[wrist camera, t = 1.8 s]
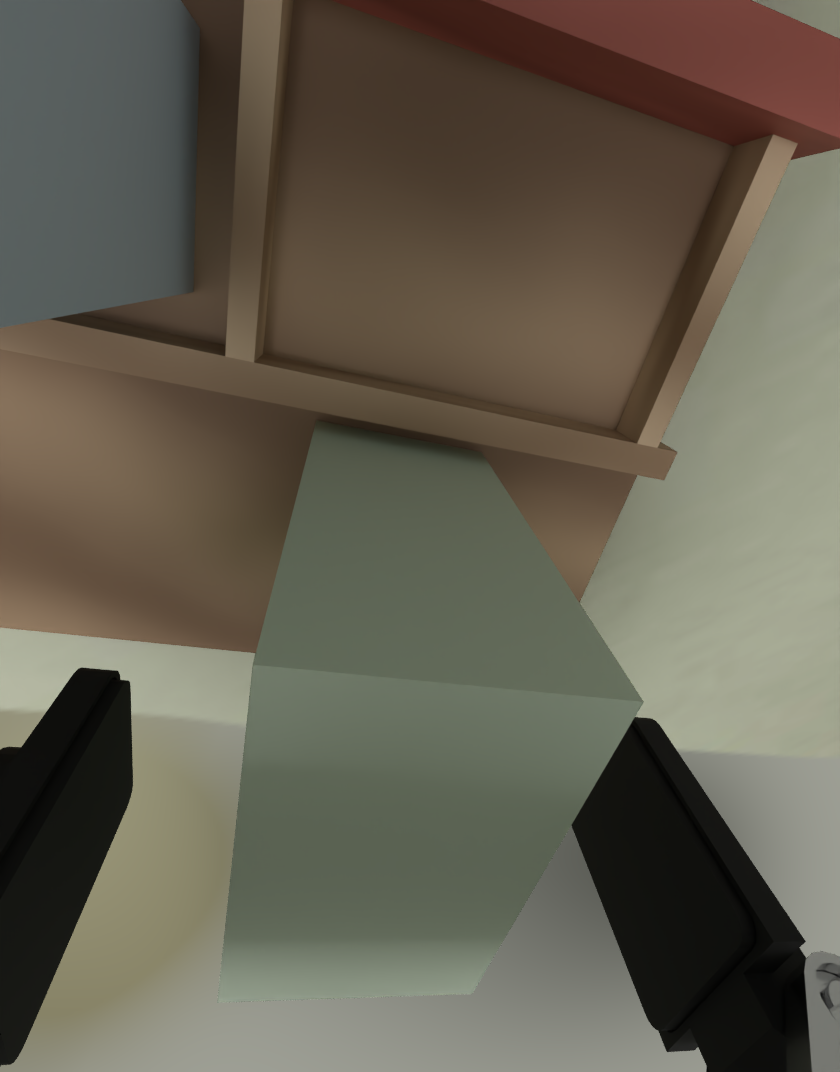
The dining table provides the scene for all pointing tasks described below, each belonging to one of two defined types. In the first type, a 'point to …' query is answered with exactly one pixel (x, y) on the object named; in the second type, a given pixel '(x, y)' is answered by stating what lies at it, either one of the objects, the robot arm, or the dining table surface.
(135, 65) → the blue carton
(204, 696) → the dining table surface
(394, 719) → the sage carton
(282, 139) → the shelf
